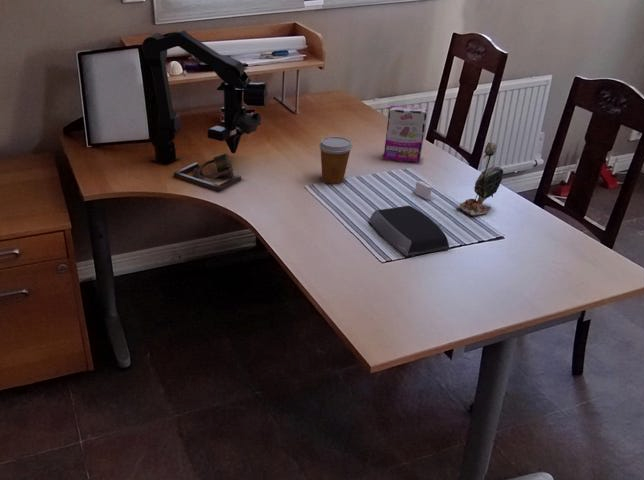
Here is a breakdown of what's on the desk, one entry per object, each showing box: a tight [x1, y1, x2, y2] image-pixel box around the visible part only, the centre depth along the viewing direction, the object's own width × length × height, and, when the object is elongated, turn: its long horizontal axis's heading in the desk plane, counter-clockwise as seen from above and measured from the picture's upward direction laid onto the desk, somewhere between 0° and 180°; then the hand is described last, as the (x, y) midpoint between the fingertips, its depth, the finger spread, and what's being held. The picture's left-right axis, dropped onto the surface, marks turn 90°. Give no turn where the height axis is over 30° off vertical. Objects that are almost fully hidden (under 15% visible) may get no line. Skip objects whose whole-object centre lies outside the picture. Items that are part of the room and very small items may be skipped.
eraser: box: [414, 180, 433, 201], centre depth 177 cm, size 1×5×4 cm, turn 25°
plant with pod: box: [456, 141, 504, 216], centre depth 165 cm, size 8×11×20 cm
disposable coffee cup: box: [318, 136, 353, 185], centre depth 187 cm, size 10×10×12 cm
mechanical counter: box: [192, 152, 235, 179], centre depth 194 cm, size 7×13×10 cm
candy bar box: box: [383, 105, 429, 164], centre depth 197 cm, size 11×5×16 cm, turn 68°
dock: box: [173, 161, 242, 193], centre depth 194 cm, size 18×10×2 cm, turn 48°
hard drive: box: [368, 205, 450, 257], centre depth 158 cm, size 13×19×4 cm
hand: (233, 153), depth 200 cm, fingers closed
